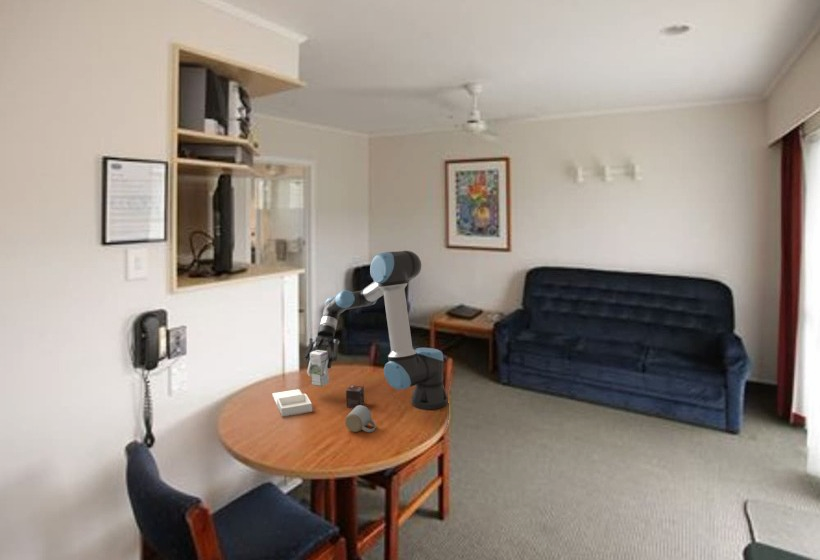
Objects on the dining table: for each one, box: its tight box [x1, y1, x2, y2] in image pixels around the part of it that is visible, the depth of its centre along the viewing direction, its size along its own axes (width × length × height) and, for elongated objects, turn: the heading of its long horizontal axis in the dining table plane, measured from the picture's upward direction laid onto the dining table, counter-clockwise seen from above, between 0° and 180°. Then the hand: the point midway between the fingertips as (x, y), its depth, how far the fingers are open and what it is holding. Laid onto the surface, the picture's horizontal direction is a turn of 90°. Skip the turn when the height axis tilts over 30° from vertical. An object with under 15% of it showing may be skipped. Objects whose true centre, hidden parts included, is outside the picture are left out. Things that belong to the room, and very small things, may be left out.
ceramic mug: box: [344, 405, 377, 433], centre depth 178 cm, size 11×8×8 cm
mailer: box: [271, 388, 313, 418], centre depth 205 cm, size 27×12×4 cm, turn 24°
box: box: [345, 385, 365, 409], centre depth 201 cm, size 6×6×7 cm
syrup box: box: [310, 349, 330, 387], centre depth 209 cm, size 6×6×14 cm
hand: (316, 374), depth 206 cm, fingers closed on syrup box, 7 cm apart
